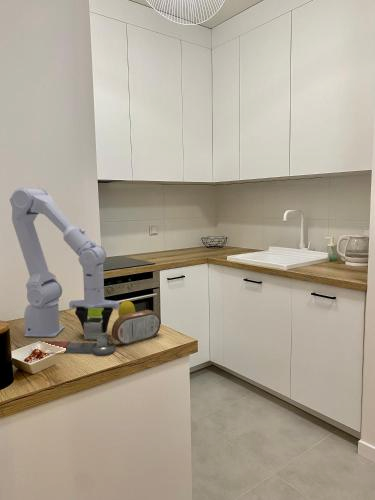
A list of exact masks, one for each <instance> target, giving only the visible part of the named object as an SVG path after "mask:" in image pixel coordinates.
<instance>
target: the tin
mask: <svg viewBox="0 0 375 500" xmlns="http://www.w3.org/2000/svg"><path fill="white" fill-rule="evenodd" d="M161 324H162V323H161V317H160V316H159V315H158V314H157V313H156V312H154V311H153V310H150V309H145V310H141V311H135V313H130V314H125V315H122V316H120V317H119V316H118V318H117V319H115V321H114V323H113V324H112V327H111V335H112V337H113V338H114V340H115V341H117V342H118V343H120V344H122V345H129V344H130V345H131V344H134V343H137V342H140V341H145V340H149V339H153V338H154V337H155V336H156V335H158V332H159V331H160V329H161Z"/></svg>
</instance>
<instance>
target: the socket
mask: <svg viewBox="0 0 375 500" xmlns="http://www.w3.org/2000/svg"><path fill="white" fill-rule="evenodd" d="M99 335H107V332H106V333H103V319H102V316H100V317H99V316H88V319H87V320H86V321H85V322H84V331H83V340H96V341H97V338H98V336H99Z"/></svg>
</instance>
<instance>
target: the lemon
mask: <svg viewBox="0 0 375 500" xmlns="http://www.w3.org/2000/svg"><path fill="white" fill-rule="evenodd" d="M119 304H120V307H119V309H117V310H118V311H117V312H118V318H119V317H120V316H122V315H125V314H130V313H135V312H136V308H135V304H134V303H133V302H132V301H130V300H128V299H125V300H124V301H122V302H120V303H119Z"/></svg>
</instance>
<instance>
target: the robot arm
mask: <svg viewBox="0 0 375 500" xmlns="http://www.w3.org/2000/svg"><path fill="white" fill-rule="evenodd" d="M9 202H10V205H11V208H12V212H11V222H12V224H13V228H14V230H15V231H14V232H15V234H16V237H17V240H18V244H19V247H20V249H21V252H22V255H23V259H24V262H25V266H26V267H27V271H28V274H29V278H28V280H27V282H26V284H25V287H26V298H27V301H28V302H29V304H27V306H26V307H25V309H24V316H23V317H24V330H25V333H24V335H23V336H24V337H34V338H35V337H37V338H38V337H39V338H41V337H42V338H43V337H44V338H45V337H46V338H48V337H49V338H55V337H56V336H57V335H58V334H60V333H61V332H62V331H63V330H64V329H65V326H64V325H60V313H59V312H60V311H59V309H60V308H59V303H60V298H61V297H62V294H63V287H62V285H61V283H60V282H59V281H58V280H57V278H56V275H55V274H54V273H52V272H50V270H49V267H48V264H47V261H46V258H45V254H44V252H43V248H42V246H41V242H40V238H39V236H38V232H37V229H36V226H35V223H34V221H35V220H36V219H37V217H38V215H39V214H40V215H44V216H45V217H47V219H48V220H49V221H50V222H51V223H52V224H53V225H54V226H55V227H56V228H58V229H59V230H60V231H61V233H62V234H63V241H64V242H66V244H67V245H68V246H69V247H70V249H72V251H73V252H74V253H75V254H76V255H77V256H78V262H79V264H80V265H81V268H82V274H83V275H82V277H83V299H80V300H79V299H78V300H70V301H69V302H68V307H69V309H70V310H71V309H75V311H74V313H75V315H76V317H77V319H78V320H79V322H80V324H81V327H82V330H83V332H84V322H85V321H86V320H87V319H88V318H89V316H88V308H104V310H102V312H101V313H102V315H101V317H102V319H103V333H106V334H107V332H108V325H109V322H110V318H111V317H112V313H113V311H114V310H119V307H120V304H121V303H120V301H119V300H109V299H105V288H104V287H105V286H104V285H105V283H104V281H105V279H104V277H105V276H104V262H105V261H106V259H107V253H106V250H105V249H104V247H103V246H101V245H99V244H96V242H95V241H93V240H91V238H90V237H89V236H88V235H87V234H86V230H85V229H84V228H83V227H82V228H80V226H76V225H75V226H74V225H73V224H72V223H71V222H70V220H69V219H68V218H67V216H65V214H64V213H63V212H62V210H61V209H60V208H59V207H58V205H57V204H56V203H55V201H54V198H53V197H52V196H51V195H50V194H49V193H48V191H47V190H45V189H43V188H24V187H20V188H16V189H15V190H14V191H13V193H12V194H11V197H10V198H9Z"/></svg>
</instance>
